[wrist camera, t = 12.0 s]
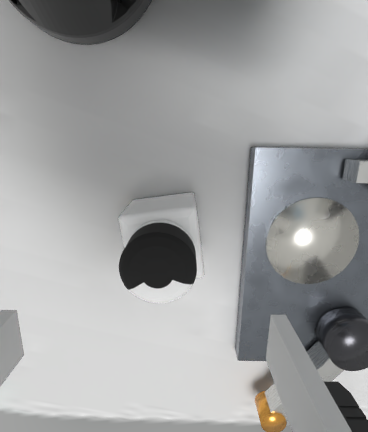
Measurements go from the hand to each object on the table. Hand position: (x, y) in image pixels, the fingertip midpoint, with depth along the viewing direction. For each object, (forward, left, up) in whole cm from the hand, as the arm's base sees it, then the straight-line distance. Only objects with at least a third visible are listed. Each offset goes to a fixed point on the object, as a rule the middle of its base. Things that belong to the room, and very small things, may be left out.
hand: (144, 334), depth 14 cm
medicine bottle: (0, 0, -19) cm, 19 cm away
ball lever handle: (+17, +17, -16) cm, 29 cm away
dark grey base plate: (+4, +17, -19) cm, 25 cm away
